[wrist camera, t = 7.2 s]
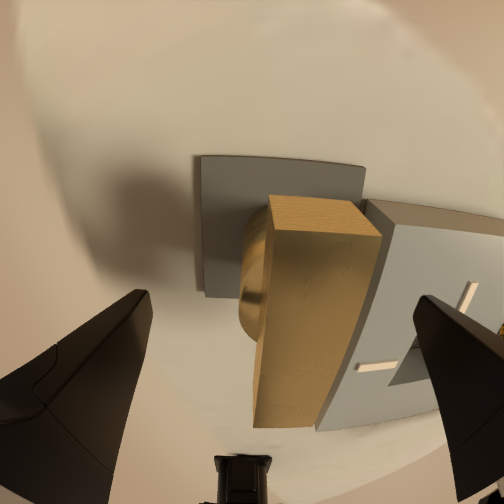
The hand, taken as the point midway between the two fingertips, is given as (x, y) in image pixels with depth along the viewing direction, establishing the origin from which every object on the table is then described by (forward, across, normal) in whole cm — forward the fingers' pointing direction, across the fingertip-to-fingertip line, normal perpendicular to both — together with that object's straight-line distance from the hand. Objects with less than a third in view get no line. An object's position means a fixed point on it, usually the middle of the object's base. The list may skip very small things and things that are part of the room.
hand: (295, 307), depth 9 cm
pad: (+5, 0, 0) cm, 5 cm away
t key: (+5, 0, 0) cm, 5 cm away
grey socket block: (+5, -10, +6) cm, 13 cm away
